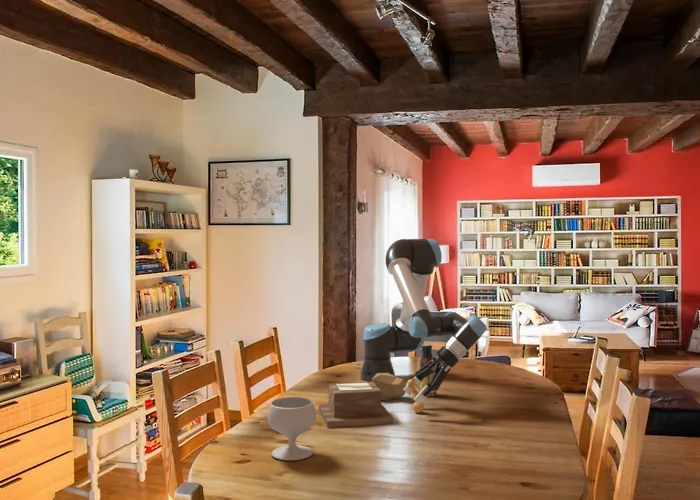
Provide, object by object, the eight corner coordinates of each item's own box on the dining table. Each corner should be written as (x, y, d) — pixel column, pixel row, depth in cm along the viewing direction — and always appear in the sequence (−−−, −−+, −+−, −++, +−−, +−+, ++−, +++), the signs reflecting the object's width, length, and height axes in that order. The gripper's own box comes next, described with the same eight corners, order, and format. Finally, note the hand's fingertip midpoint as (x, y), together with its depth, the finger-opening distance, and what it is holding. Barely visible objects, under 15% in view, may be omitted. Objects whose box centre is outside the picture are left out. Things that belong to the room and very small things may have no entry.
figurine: (419, 416, 212) (418, 381, 212) (403, 414, 215) (402, 380, 215) (428, 410, 220) (427, 376, 219) (412, 408, 223) (412, 375, 222)
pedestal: (319, 409, 223) (318, 380, 222) (378, 405, 226) (378, 377, 226) (327, 427, 201) (326, 396, 201) (392, 423, 205) (392, 392, 204)
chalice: (292, 442, 187) (291, 393, 187) (326, 452, 178) (326, 401, 178) (257, 455, 176) (256, 403, 176) (292, 467, 167) (291, 412, 167)
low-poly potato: (363, 398, 237) (370, 391, 227) (368, 371, 243) (375, 363, 232) (400, 408, 239) (409, 401, 229) (404, 381, 244) (413, 373, 234)
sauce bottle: (436, 393, 243) (436, 343, 242) (437, 397, 237) (436, 346, 236) (419, 393, 243) (419, 343, 243) (419, 397, 237) (419, 346, 237)
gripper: (471, 367, 207) (429, 414, 205) (447, 353, 232) (408, 395, 230) (456, 352, 206) (413, 399, 204) (433, 339, 231) (395, 381, 229)
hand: (411, 397), depth 217 cm, fingers open, 13 cm apart
